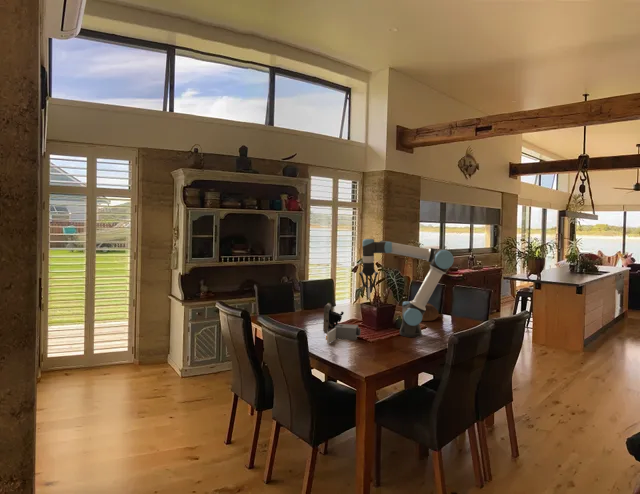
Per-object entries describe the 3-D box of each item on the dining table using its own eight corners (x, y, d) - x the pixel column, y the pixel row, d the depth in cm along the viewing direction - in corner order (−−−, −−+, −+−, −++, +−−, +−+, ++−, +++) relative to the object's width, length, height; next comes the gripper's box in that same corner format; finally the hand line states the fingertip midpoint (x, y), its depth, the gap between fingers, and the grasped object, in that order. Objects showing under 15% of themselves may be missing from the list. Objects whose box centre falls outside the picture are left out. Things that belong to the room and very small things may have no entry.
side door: (328, 343, 271) (328, 332, 270) (325, 343, 272) (325, 332, 271) (336, 338, 284) (336, 327, 283) (333, 338, 284) (333, 327, 284)
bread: (441, 322, 334) (442, 305, 333) (407, 321, 334) (407, 305, 334) (433, 314, 360) (434, 299, 359) (402, 314, 360) (402, 298, 359)
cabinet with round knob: (360, 337, 289) (361, 324, 288) (358, 340, 280) (358, 327, 279) (337, 335, 293) (337, 322, 292) (334, 338, 284) (335, 325, 284)
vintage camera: (344, 334, 296) (346, 306, 294) (322, 332, 299) (324, 304, 298) (346, 331, 305) (347, 304, 304) (325, 329, 308) (326, 302, 307)
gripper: (378, 261, 286) (379, 296, 288) (359, 261, 289) (360, 296, 290) (377, 262, 279) (378, 298, 280) (358, 262, 282) (358, 298, 283)
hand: (369, 297), depth 285 cm, fingers closed
